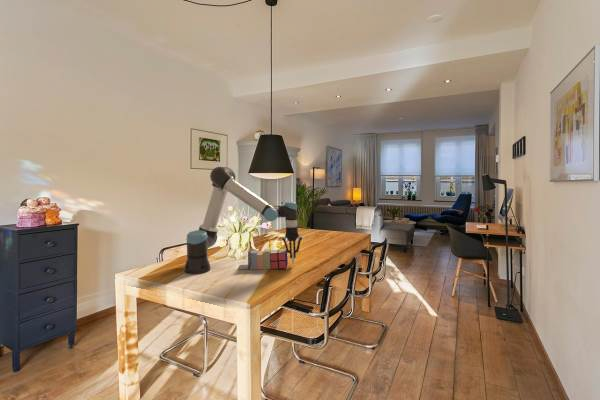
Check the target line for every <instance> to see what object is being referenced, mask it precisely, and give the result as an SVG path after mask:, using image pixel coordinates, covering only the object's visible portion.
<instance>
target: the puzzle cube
mask: <svg viewBox="0 0 600 400" xmlns="http://www.w3.org/2000/svg"><path fill="white" fill-rule="evenodd" d="M288 264H289V260H288V253H287V250H286V248H282V249H281V248H280V249H271V252H270V266H271V269H270V270H282V269H287V267H288Z"/></svg>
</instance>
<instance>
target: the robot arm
mask: <svg viewBox="0 0 600 400" xmlns="http://www.w3.org/2000/svg"><path fill="white" fill-rule="evenodd" d="M209 177H210V181H211V183H212V184H211V186H212V188H213V190H212V193H211V196H210V200H209V203H208V205H207V208H206V213H205V216H204V219H203V222H202V224H200V225H199V228H198V230H193V231H190V232H188V233H187V234H186V252H187V253H186V255H187V256H186V259H185V260H186V261H185V264H184V267H183V268H184V269H183V272H184V273H186V274H191V275H192V274H193V275H195V274H203V273H208V272H209V271H211V264H210V261H209V257H208V249H209V248H211V247H213V246H214V245H215V244H216V242H217V241H218V231H219V230H218V228H217V226H218V223H219V219H220V216H221V212H222V210H223V207H224V206H223V205H224V202H225V200H226V197H227V194H228V193H230V194H232V196H234V197H236V198H237V199H238V200H240V201H241V202H243V203H244V204H246V205H248V207H250V208H252V209H253V210H254V211H256V212H258V213H259V214H260V215H261V216H263V217H264V219H265V220H266V221H268V222H274V221H276V220H277V219H278V218H279V219H280V218H285V219H284V220H285V234H284V235H285V236H284V237H282V238H281V240H282V242H283V243H284V247H285V249H286V250H287V254H289V259H291V264H293V265H294V264H295V259H296V255H297V253H299V250H300V245H301V241H302V240H303V236H301V235H299V230H298V229H299V227H298V206H297V202H296V201H286V202H284V205H271V204H269V203H268V202H267V201H265V200H264V199H262V198H261V197H259V196H257V194H255V193H254V192H252V191H251V190H249V189H248V188H246V187H245V186H243V185H242V184H241V183H239V182H238V181H236V173H235V171H234V170H233V169H232V168H230V167H227V166H216V167H213V169H212V170H211V172H210V175H209ZM297 239H298V240H297ZM287 240H288V242H289V246H288V243H287ZM296 241H297V244H296ZM296 245H297V246H296ZM292 246H293V247H292ZM292 248H293V249H292Z"/></svg>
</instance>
